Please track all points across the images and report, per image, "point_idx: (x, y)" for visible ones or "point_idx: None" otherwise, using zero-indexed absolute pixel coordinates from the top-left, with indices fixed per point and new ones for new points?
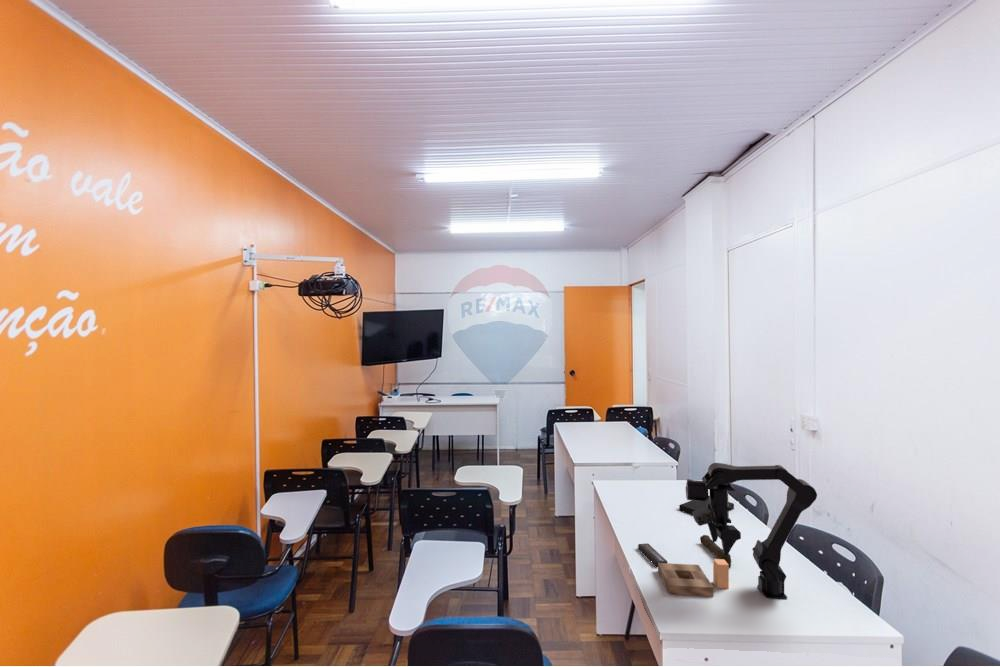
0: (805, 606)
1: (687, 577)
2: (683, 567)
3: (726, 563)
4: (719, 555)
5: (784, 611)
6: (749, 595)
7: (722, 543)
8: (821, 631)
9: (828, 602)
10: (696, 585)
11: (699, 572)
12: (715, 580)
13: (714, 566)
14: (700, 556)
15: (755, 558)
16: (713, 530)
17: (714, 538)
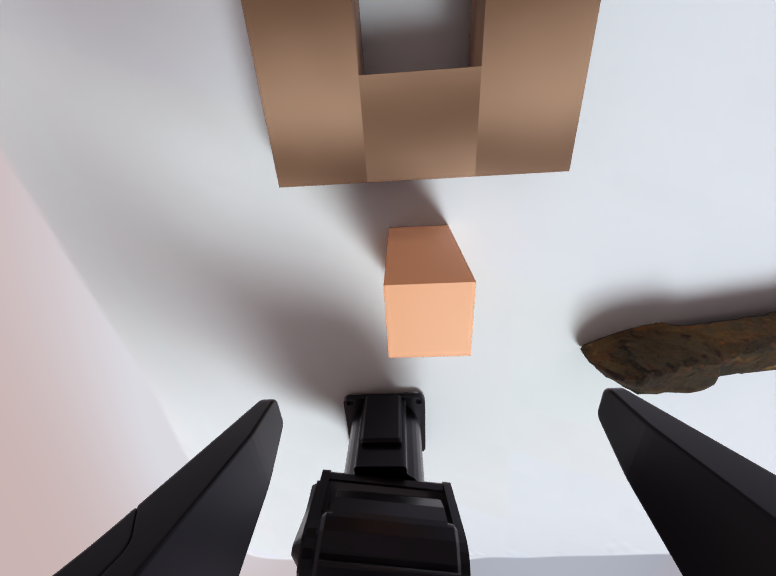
0: (322, 471)
1: (472, 56)
2: (538, 18)
3: (408, 350)
4: (681, 341)
5: None
6: (351, 344)
7: (115, 554)
8: None
9: None
10: (267, 61)
11: (459, 145)
12: (418, 234)
13: (442, 262)
14: (738, 239)
15: (393, 530)
16: (761, 570)
17: (627, 436)
